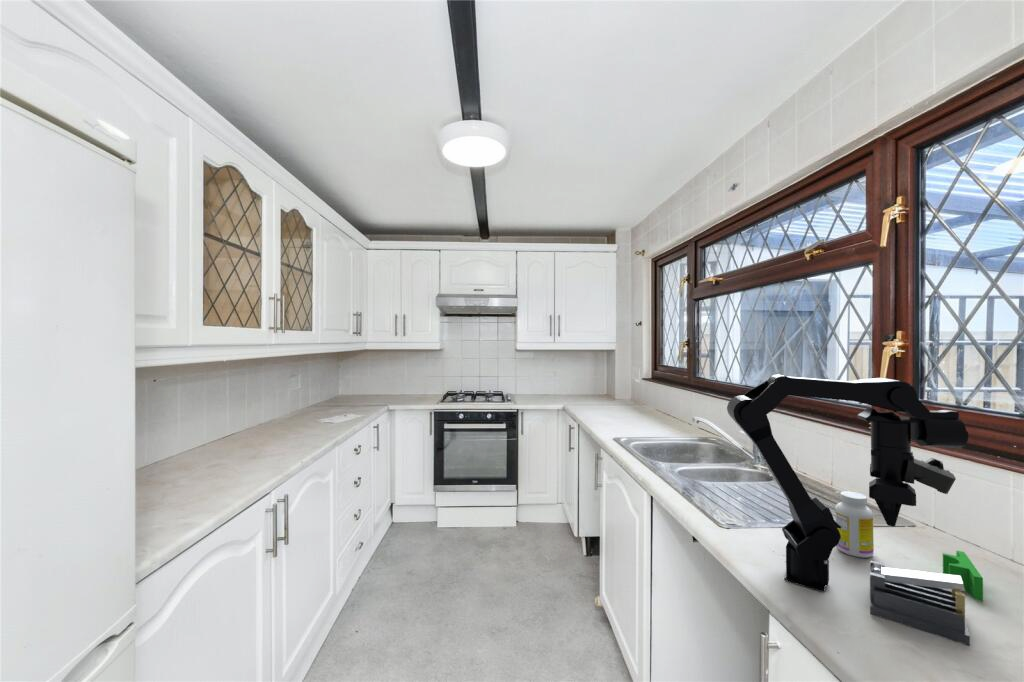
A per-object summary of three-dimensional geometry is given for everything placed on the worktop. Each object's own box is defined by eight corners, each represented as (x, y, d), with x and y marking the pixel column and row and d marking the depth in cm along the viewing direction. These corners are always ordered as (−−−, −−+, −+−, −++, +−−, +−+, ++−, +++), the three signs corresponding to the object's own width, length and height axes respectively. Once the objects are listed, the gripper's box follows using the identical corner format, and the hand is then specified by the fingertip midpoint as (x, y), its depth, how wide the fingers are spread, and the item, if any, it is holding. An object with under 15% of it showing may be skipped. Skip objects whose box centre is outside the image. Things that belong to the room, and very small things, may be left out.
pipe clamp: (938, 568, 89) (938, 546, 89) (964, 574, 87) (964, 551, 87) (954, 595, 80) (954, 571, 80) (983, 602, 77) (983, 577, 77)
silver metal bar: (872, 582, 77) (869, 571, 77) (872, 573, 79) (870, 563, 80) (966, 594, 69) (962, 582, 69) (962, 584, 72) (959, 573, 72)
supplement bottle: (874, 550, 96) (874, 494, 96) (872, 562, 91) (872, 503, 91) (837, 541, 101) (836, 487, 100) (834, 552, 96) (833, 495, 96)
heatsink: (870, 614, 75) (869, 575, 74) (870, 587, 82) (870, 553, 82) (969, 645, 67) (969, 602, 67) (960, 613, 74) (960, 575, 74)
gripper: (958, 464, 69) (959, 559, 69) (944, 440, 83) (945, 520, 83) (868, 452, 76) (869, 538, 76) (869, 433, 90) (870, 506, 90)
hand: (891, 525), depth 81 cm, fingers closed
